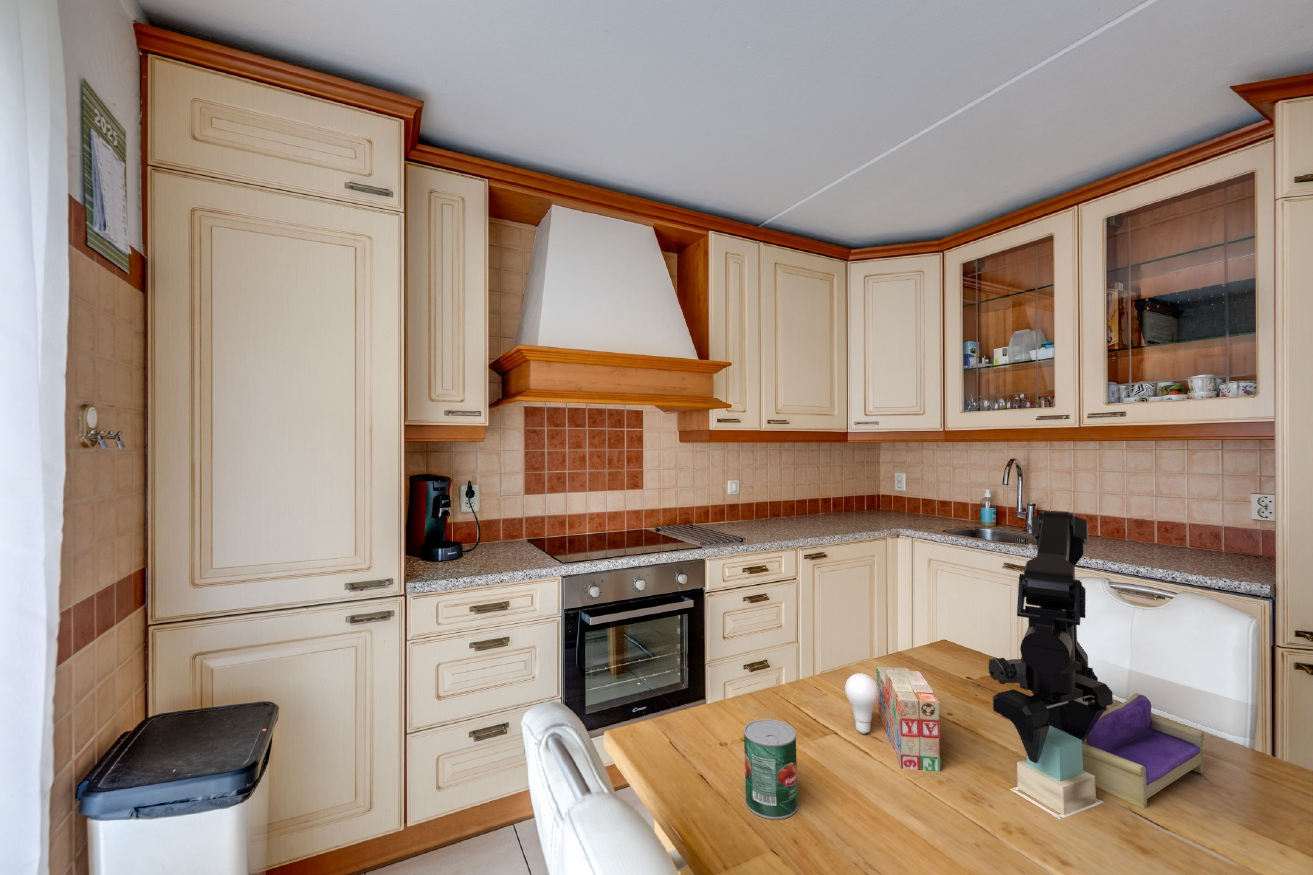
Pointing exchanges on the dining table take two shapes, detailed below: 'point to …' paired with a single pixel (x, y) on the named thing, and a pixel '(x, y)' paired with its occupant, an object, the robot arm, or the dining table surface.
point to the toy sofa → (1139, 751)
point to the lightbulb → (862, 699)
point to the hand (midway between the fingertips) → (1054, 754)
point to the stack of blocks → (910, 717)
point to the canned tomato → (770, 768)
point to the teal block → (1060, 755)
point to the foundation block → (1057, 789)
